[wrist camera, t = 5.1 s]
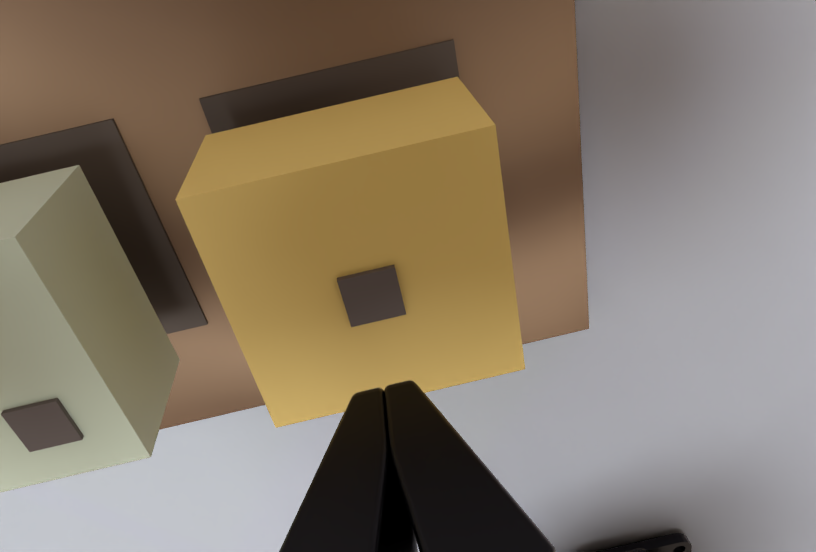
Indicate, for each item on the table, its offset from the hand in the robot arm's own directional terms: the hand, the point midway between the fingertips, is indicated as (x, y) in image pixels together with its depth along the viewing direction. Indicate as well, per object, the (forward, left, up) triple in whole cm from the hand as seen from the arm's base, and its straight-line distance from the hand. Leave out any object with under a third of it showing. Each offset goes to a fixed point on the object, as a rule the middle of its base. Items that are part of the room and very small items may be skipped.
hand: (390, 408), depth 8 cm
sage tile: (0, +7, -6) cm, 9 cm away
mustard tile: (0, 0, -6) cm, 6 cm away
